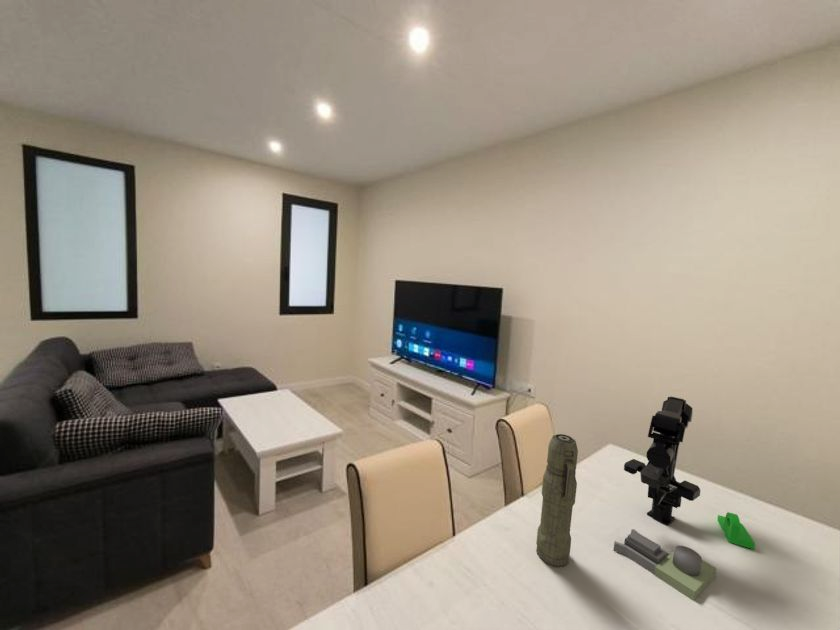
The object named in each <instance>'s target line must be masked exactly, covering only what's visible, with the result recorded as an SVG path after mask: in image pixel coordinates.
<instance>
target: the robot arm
mask: <svg viewBox="0 0 840 630" xmlns="http://www.w3.org/2000/svg"><path fill="white" fill-rule="evenodd" d="M692 419H693V407H692V406H691V405H689V404H688V403H687V400H685V399H684V398H681V397H676V396H675V397H674V396H668V397H667V399H666V400H664V401H663V402H662V407H661V410H658V411H657V412H656V413H655V414H654V415H652V417H651V419H650V420H651V421H650V425H649V430H648V434H647V438H650V439H652V443H651V444H650V447H649V448H648V449H647V451H646V459H647V463H645V462H642V461H640V460H639V459H635V458H633V459H630V460H628V461H626V462H625V463H624V464H623V465H624V466H623V471H624V472H626V473H629V474H631V475H636V474H637V473H638V472H639V473H640V482H641V483H642V484H645V485H648V487H647V489H648V490H647V498H648V499H652V504H651V509H650V510H649V511H648V512H646V515H647V516H648V517H650V518H652V519H654V520H656V521H658V522H660V523H662V524H664V525H666V526H669V525H670V524H671V523H673V522H674V521H675V520H676V517H675V516H672V515H673V508H674V509H678V508H681V506H682V505H681V504H682V498H684V499H686V500H688V501H691V502H693V501H695V500H697V498H699V497H701V488H700V487H699V485H696V484H694V483H692V482H690V481H688V480H682V481H681V482H678V481H677V479H676V477H675V471H676V468H677V467H676V465H677V460H678V454H679V448H680V443H684V436H685V431H686V429H687V428H689V423H691V422H692Z"/></svg>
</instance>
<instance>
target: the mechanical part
mask: <svg viewBox="0 0 840 630" xmlns="http://www.w3.org/2000/svg"><path fill="white" fill-rule="evenodd" d="M740 521H741V520H740V517H739V516H738V514H736V513H733V512H729V511H727V512H726V514H725V516H724V515H720V514H718V515H717V522H718V525H719V526H720V528H721V530H722V533H723V534H724V535H725V537H726V539H727V541H728V542H729V543H731V544H735V545H737V546H742V547H745V548H748V549H751V550H755V546H756V542H755V541H754V540H753V538H752V535H750V533H749V532H748V531H747V528H746V527H745V525H744V524H742V523H741V522H740Z"/></svg>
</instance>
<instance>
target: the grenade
mask: <svg viewBox="0 0 840 630" xmlns="http://www.w3.org/2000/svg"><path fill="white" fill-rule="evenodd" d="M547 447H548V449H547V458H546V463H547V465H546V468H545V471H544V473H543V475H542V484H541V495H542V503H541V504H542V505H541V513H540V523H539V525H538V527H537V535H536V551H535V552H536V555H537V557H538V558H539V559H540V561H542V562H543V563H545V564H546V565H548V566H550V567H554V568H556V569H557V568H564V567H566V566H567V565H568V564H569V557H570V553H571V544H572V537H571V536H572V535H571V525H572V515H573V507H574V505H575V503H576V496H577V487H578V486H577V485H578V482H577V478H576V472H577V471H576V470H577V463H578V455H579V454H578V453H579V451H578V450H579V449H578V445H577V441H576V439H574V438H573V437H571V436H569V435H567V434H563V433H558V434H553V435H552V437H551V439H550V441H549V443H548V446H547Z"/></svg>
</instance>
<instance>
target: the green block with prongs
mask: <svg viewBox="0 0 840 630" xmlns="http://www.w3.org/2000/svg"><path fill="white" fill-rule="evenodd" d="M630 531H631V532H630V534H631V533H632V532H634V531H636V532H638V531H637V530H636V529H634V528H632V529H630ZM660 549H661V550H663V551H665V552H667V555H666V558H665V559H664V560H662V561H661V562H660V563H659V564H658V565H657V564H656V563H654V562H652V561H651V560H649V559H648V558H646V557H644V556H643V555H641V554H640V553H638V552H636V551H635V550H633V549H632V548H630V547H628V546H626V545H624V543H621V542H619V541H616V540H614V543H613V550H612V551H613V552H616V553H618V554H620V555H621V554H622V555H624V556H625V557H626V558H628V559H630V560H631V561H633V562H635V563H636V564H638V565H639V566H641V567H642V568H644V570H647V571H649V572H650V573H652V574H653V576H655V577H657V578H659V580H661V581H663V582H665V583H666V584H668V585H669V586H671V587H672V588H673V589H675V590H676V591H678V592H679V593H681V594H683V595H684V596H685V597H687V598H688V599H690V600H692V601H695V600H696V598H697V597H698V596H699V595H700V594H701V592H703V591H704V589H705V588H706V587H707V586H708V585H709V584H710V583H711V582H712V580H713V579H714V578H715V577H716V575H717V566H714V565H712V564H711V563H709V562H707V561H705V560H703V557H702V556H701V555H700V554H699V552H697V551H695V550H694V549H692V548H690V547H688V546H684V545H675V546H674V549H673V551H668V550H666V549H665V548H664V547H660Z"/></svg>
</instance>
